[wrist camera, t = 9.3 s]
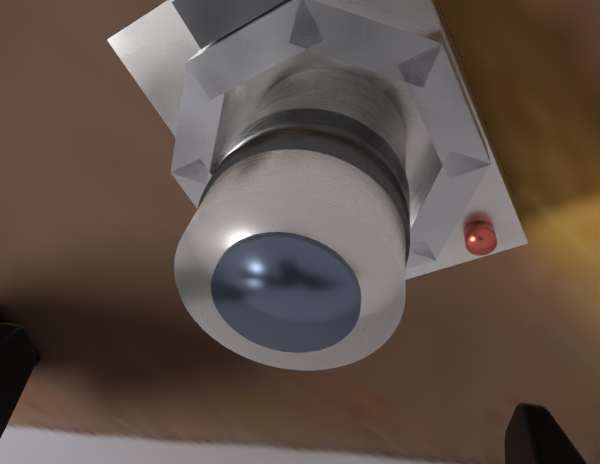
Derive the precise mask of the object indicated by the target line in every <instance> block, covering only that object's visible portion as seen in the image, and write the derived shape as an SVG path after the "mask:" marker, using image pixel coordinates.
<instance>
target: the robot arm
mask: <svg viewBox="0 0 600 464" xmlns="http://www.w3.org/2000/svg"><path fill="white" fill-rule="evenodd" d="M39 361H40V357H39V355H38V354H37V353H36V352H35V350H34V347H33V345H32V342H31V340H30V337H29V335H28V332H27V330H26V328H25V327H24V326H22V325H19V324H12V323H4V322H3V321H1V320H0V438H1V436H2V434H3V432H4V430H5V428H6V426H7V424H8V422H9V420H10V418H11V415H12V413H13V411H14V409H15V407H16V405H17V403H18V400H19V398H20V396H21V394H22V392H23V390H24V388H25V386H26V383H27V381H28V379H29V377H30V375H31V373H32V371H33V368H34V367H35V366H36V365H37V363H38V362H39ZM505 464H587V463H586V462H585V460H584V459H583V458H582V456H581V455H580V453H579V452H578V451H577V449H576V448H575V447H574V445H573V444H572V442H571V441H570V440H569V438H568V437H567V436H566V434H565V433H564V431H563V430H562V429H561V427H560V426H559V425H558V423H557V422H556V420H555V419H554V418H553V416H552V415H551V413H550V412H549V411H548V410H547V409H546V408H545V407H543V406H541V405H535V404H529V403H519V404H518V405H517V407H516V409H515V411H514V413H513V416H512V418H511V420H510V423H509V425H508V428H507V430H506V434H505Z"/></svg>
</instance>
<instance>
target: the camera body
mask: <svg viewBox="0 0 600 464" xmlns="http://www.w3.org/2000/svg"><path fill="white" fill-rule="evenodd" d="M107 41H108V42H109V43H110V45H111V46H112V48H113V49H114V51H115V52H116V53H117V55H118V56H119V58H120V59H121V60H122V62H123V63H124V65H125V66H126V68H127V69H128V70H129V72H130V73H131V75H132V76H133V78H134V79H135V80H136V82H137V83H138V85H139V86H140V87H141V89H142V90H143V92H144V93H145V95H146V96H147V97H148V99H149V100H150V102H151V103H152V104H153V106H154V107H155V109H156V110H157V112H158V113H159V114H160V116H161V117H162V119H163V120H164V122H165V123H166V124H167V126H168V127H169V129H170V130H171V131H172V133H173V134H174V136H175V137H176V139H175V146H174V153H173V160H172V168H171V174H172V175H173V176H174V178H175V179H176V180H177V182H178V183H179V184H180V186H181V187H182V189H183V190H184V191H185V193H186V194H187V195H188V197H189V198H190V199H191V201H192V202H193V204H194V205H195V206H196V208H198V204H199V201H200V197H201V195H202V193H203V191H204V189H205V187H206V185H207V184H208V182H209V180H210V179H211V177H212V175H213V174H214V172H215V170H216V169H217V167H218V165H219V164H220V162H221V160H222V159H223V157H224V155H225V153H226V152H227V150H228V148H229V147H230V145H231V144H232V143H233V141H234V140H235V139H236V137H237V136H238V135H239V134H240V133H241V132H242V131H243V130H244V129H245V127H246V125H247V123H248V122H249V120H250V118H251V116H252V115H253V113H254V111H255V110H256V108H257V106H258V104H259V103H260V101H261V100H262V98H263V97H264V96H265V94H266V93H267V92H268V91H269V90H270V89H271V88H272V87H273V86H275V85H276V84H277V83H278V82H280V81H282V80H283V79H285V78H287V77H288V76H291V75H293V74H296V73H298V72H302V71H306V70H311V69H319V68H329V69H338V70H343V71H347V72H350V73H354V74H356V75H358V76H361V77H363V78H365V79H366V80H368V81H370V82H372V83H373V84H374V85H376V86H377V87H378V88H379V89H381V90H382V91H383V92H384V93H385V94H386V95H387V96H388V97H389V99H390V100H391V101H392V103H393V104H394V105H395V107H396V109H397V111H398V113H399V114H400V117H401V119H402V122H403V125H404V130H405V135H406V176H407V180H408V185H409V194H410V249H409V257H408V261H407V264H406V275H405V280H406V279H410V278H413V277H416V276H420V275H423V274H426V273H430V272H433V271H437V270H440V269H443V268H447V267H450V266H453V265H457V264H460V263H464V262H467V261H470V260H474V259H477V258H480V257H484V256H487V255H491V254H494V253H497V252H501V251H504V250H508V249H511V248H514V247H518V246H521V245H524V244H528V242H527V238H526V235H525V232H524V228H523V225H522V221H521V218H520V214H519V211H518V208H517V204H516V201H515V197H514V195H513V192H512V190H511V187H510V185H509V182H508V179H507V177H506V174H505V172H504V169H503V167H502V164H501V162H500V159H499V157H498V154H497V151H496V149H495V146H494V144H493V141H492V139H491V136H490V134H489V131H488V129H487V126H486V124H485V121H484V118H483V116H482V113H481V111H480V108H479V106H478V103H477V101H476V98H475V96H474V93H473V90H472V88H471V85H470V83H469V80H468V78H467V75H466V73H465V70H464V68H463V65H462V63H461V60H460V57H459V55H458V52H457V50H456V47H455V45H454V42H453V40H452V37H451V35H450V32H449V29H448V27H447V24H446V22H445V19H444V17H443V14H442V12H441V9H440V7H439V4H438V2H437V0H167V1H166V2H164V3H163V4H161V5H160V6H158V7H157V8H155V9H154V10H152V11H151V12H149V13H147V14H146V15H144V16H143V17H141V18H140V19H138V20H137V21H135V22H134V23H132V24H131V25H129V26H128V27H126V28H124V29H123V30H121V31H120V32H118V33H117V34H115V35H114V36H112V37H111V38H109V39H108V40H107Z"/></svg>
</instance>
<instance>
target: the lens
mask: <svg viewBox="0 0 600 464" xmlns="http://www.w3.org/2000/svg"><path fill="white" fill-rule="evenodd" d="M409 249H410V194H409V185H408V180H407V176H406V135H405V130H404V125H403V122H402V119H401V117H400V114H399V113H398V111H397V109H396V107H395V105H394V104H393V103H392V101H391V100H390V99H389V97H388V96H387V95H386V94H385V93H384V92H383V91H382V90H381V89H379V88H378V87H377V86H376V85H374V84H373V83H372V82H370V81H368V80H366V79H365V78H363V77H361V76H358V75H356V74H354V73H350V72H347V71H343V70H338V69H329V68H319V69H311V70H306V71H302V72H298V73H296V74H293V75H291V76H288V77H287V78H285V79H283V80H282V81H280V82H278V83H277V84H276V85H275V86H273V87H272V88H271V89H270V90H269V91H268V92H267V93H266V94H265V96H264V97H263V98H262V100H261V101H260V103H259V104H258V106H257V108H256V110H255V111H254V113H253V115H252V116H251V118H250V120H249V122H248V123H247V125H246V127H245V129H244V130H243V131H242V132H241V133H240V134H239V135H238V136H237V137H236V139H235V140H234V141H233V143H232V144H231V145H230V147H229V148H228V150H227V152H226V153H225V155H224V157H223V159H222V160H221V162H220V164H219V165H218V167H217V169H216V170H215V172H214V174H213V175H212V177H211V179H210V180H209V182H208V184H207V185H206V187H205V189H204V191H203V193H202V195H201V197H200V201H199V204H198V208H197V211H196V213H195V215H194V217H193V218H192V220H191V222H190V224H189V225H188V227H187V229H186V230H185V232H184V234H183V236H182V238H181V240H180V242H179V244H178V247H177V251H176V254H175V261H174V275H175V281H176V286H177V290H178V292H179V295H180V297H181V300H182V302H183V303H184V305H185V307H186V309H187V311H188V312H189V313H190V315H191V316H192V317H193V319H194V320H195V321H196V322H197V323H198V325H199V326H200V327H201V328H202V329H203V330H204V331H205V332H206V333H208V334H209V335H210V336H211V337H212V338H213V339H215V340H216V341H218V342H219V343H220V344H222V345H223V346H225V347H226V348H228V349H230V350H232V351H233V352H235V353H237V354H239V355H241V356H243V357H246V358H248V359H251V360H253V361H256V362H259V363H262V364H265V365H269V366H273V367H278V368H283V369H291V370H310V371H313V370H326V369H331V368H337V367H341V366H344V365H348V364H351V363H353V362H356V361H358V360H361V359H363V358H365V357H366V356H368V355H370V354H372V353H373V352H374V351H376V350H377V349H378V348H380V347H381V346H382V345H383V344H384V343H385V342H386V341H387V340H388V339H389V338H390V337H391V335H392V334H393V333H394V331H395V330H396V328H397V326H398V324H399V322H400V320H401V317H402V314H403V310H404V305H405V275H406V264H407V261H408V257H409Z"/></svg>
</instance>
